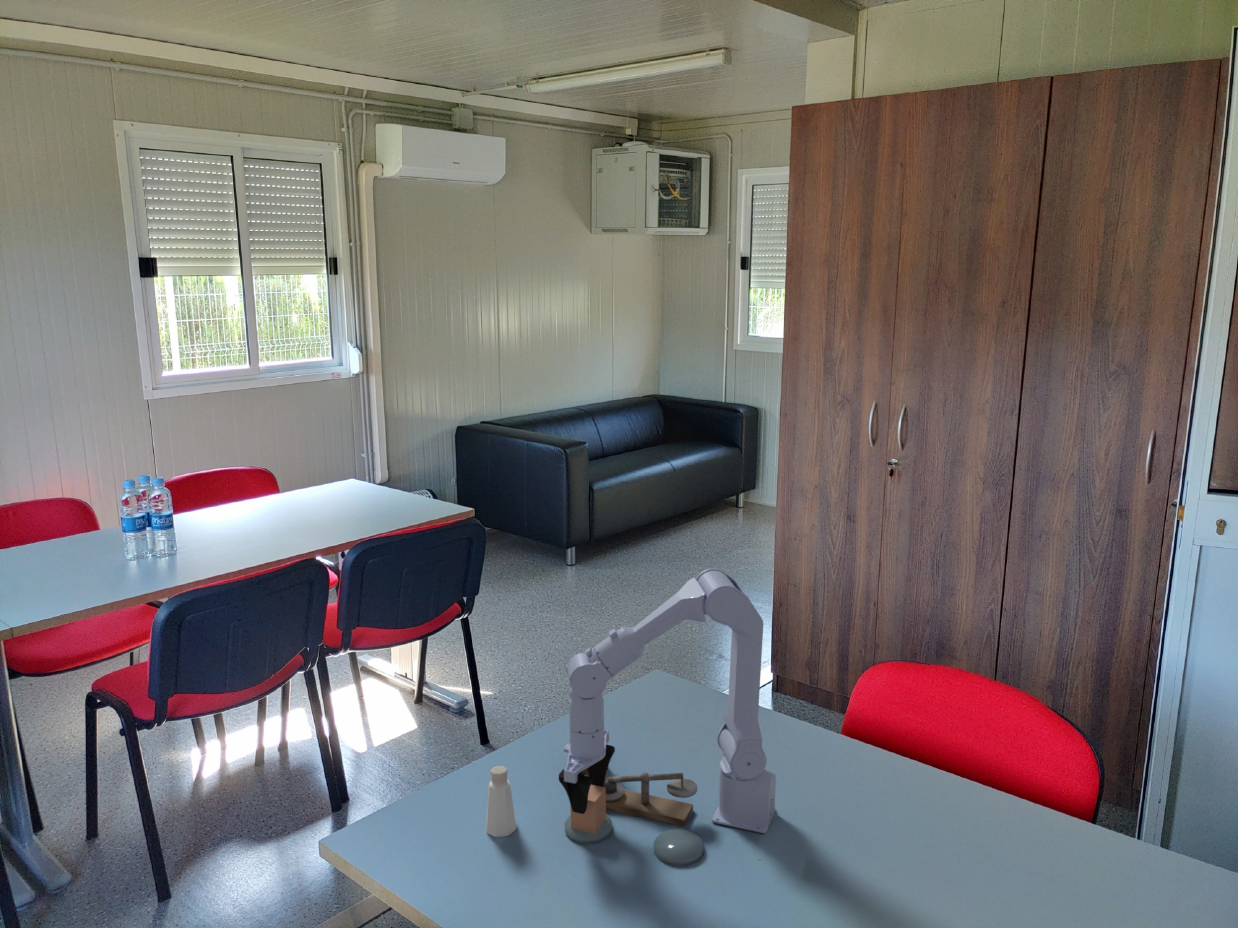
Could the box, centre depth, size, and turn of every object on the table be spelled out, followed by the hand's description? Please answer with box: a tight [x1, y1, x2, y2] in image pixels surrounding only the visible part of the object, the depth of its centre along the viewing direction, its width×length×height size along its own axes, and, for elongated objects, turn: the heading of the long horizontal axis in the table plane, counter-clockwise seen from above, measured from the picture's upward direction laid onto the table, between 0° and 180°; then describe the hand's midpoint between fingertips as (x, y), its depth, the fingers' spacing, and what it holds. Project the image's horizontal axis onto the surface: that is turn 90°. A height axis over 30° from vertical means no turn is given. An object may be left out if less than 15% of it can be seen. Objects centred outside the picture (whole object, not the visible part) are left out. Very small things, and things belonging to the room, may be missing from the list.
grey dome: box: [564, 814, 613, 844], centre depth 157 cm, size 8×8×1 cm
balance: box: [603, 772, 698, 827], centre depth 162 cm, size 19×5×8 cm, turn 69°
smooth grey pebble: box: [653, 829, 704, 866], centre depth 151 cm, size 8×8×1 cm
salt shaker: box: [485, 765, 517, 838], centre depth 156 cm, size 5×5×11 cm
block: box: [569, 785, 607, 834], centre depth 156 cm, size 4×4×6 cm
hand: (588, 799), depth 156 cm, fingers open, 7 cm apart
